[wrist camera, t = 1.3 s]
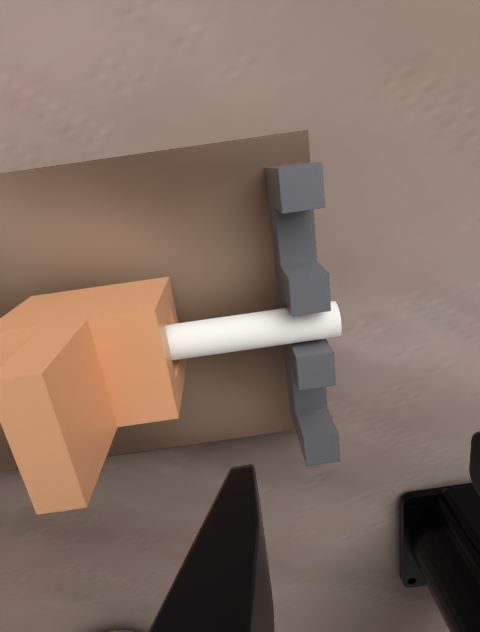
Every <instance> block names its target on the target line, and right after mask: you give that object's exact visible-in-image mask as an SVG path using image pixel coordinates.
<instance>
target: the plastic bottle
mask: <svg viewBox="0 0 480 632" xmlns="http://www.w3.org/2000/svg"><path fill="white" fill-rule="evenodd" d="M108 632H134V631H126V630H116V631H108Z"/></svg>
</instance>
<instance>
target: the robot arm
mask: <svg viewBox="0 0 480 632" xmlns="http://www.w3.org/2000/svg"><path fill="white" fill-rule="evenodd" d="M469 471H470V477H471V480H472V483H468V484H461V485H454V486H447V487H440V488H433V489H426V490H419V491H412V492H408V493H405V494H404V495H403V496H402V497H401V500H400V577H401V580H402V582H403V584H404V585H405V586H406V587H418V586H425V585H427V586H428V588H429V590H430V592H431V594H432V596H433V598H434V600H435V602H436V604H437V606H438V608H439V610H440V612H441V614H442V616H443V618H444V620H445V622H446V624H447V626H448V628H449V630H450V632H480V432H476V433H474V435H473V436H472V440H471V453H470V467H469ZM410 502H412V503H410ZM149 632H274V611H273V599H272V589H271V582H270V574H269V566H268V559H267V551H266V544H265V536H264V528H263V521H262V513H261V506H260V499H259V493H258V486H257V479H256V473H255V468H254V466H253V465H243V466H237V467H232V468H231V469H230V470H229V472H228V474H227V476H226V478H225V480H224V482H223V484H222V486H221V488H220V490H219V492H218V494H217V496H216V498H215V500H214V502H213V504H212V506H211V508H210V510H209V512H208V514H207V516H206V518H205V520H204V522H203V524H202V526H201V528H200V530H199V532H198V534H197V536H196V538H195V540H194V542H193V544H192V546H191V548H190V550H189V552H188V554H187V556H186V558H185V560H184V562H183V564H182V566H181V568H180V570H179V572H178V574H177V576H176V578H175V580H174V582H173V584H172V586H171V588H170V590H169V592H168V594H167V596H166V598H165V600H164V602H163V604H162V606H161V608H160V610H159V612H158V614H157V616H156V618H155V620H154V622H153V624H152V626H151V628H150V630H149Z"/></svg>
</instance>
